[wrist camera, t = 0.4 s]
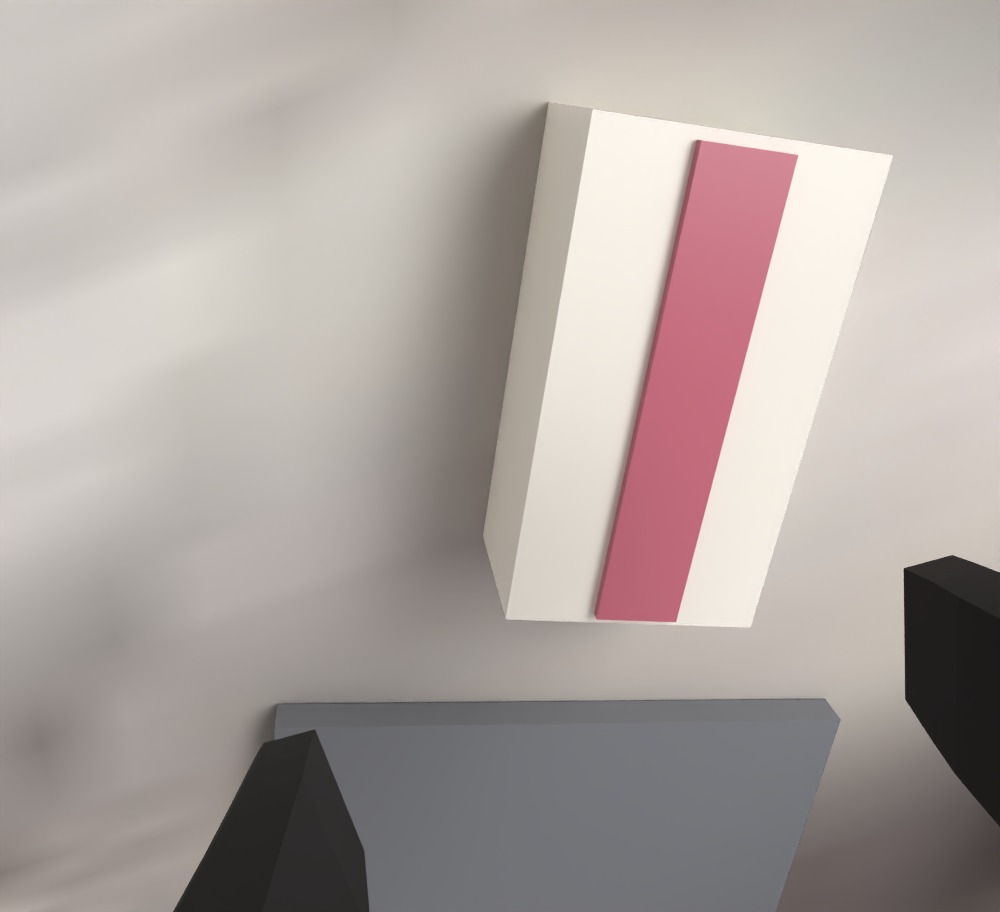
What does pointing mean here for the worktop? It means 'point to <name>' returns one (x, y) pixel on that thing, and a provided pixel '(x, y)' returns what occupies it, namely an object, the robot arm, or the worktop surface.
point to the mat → (574, 800)
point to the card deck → (667, 363)
